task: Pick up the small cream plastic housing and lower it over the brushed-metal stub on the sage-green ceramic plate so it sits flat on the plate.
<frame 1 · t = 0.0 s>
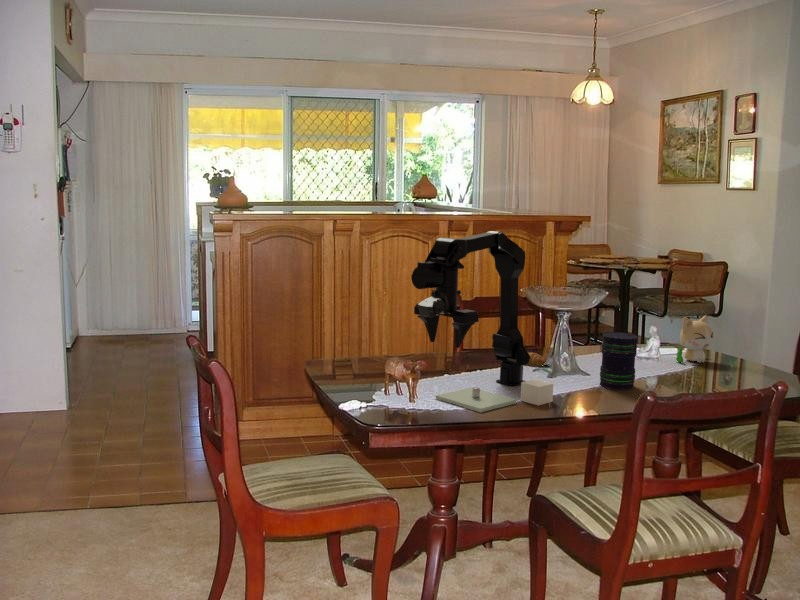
hand: (444, 344, 222), 15 cm above the table, fingers open, 9 cm apart
stub plate: (475, 401, 223), on the table
storage jar: (616, 386, 243), on the table
kitten: (693, 361, 279), on the table
housing: (536, 401, 224), on the table
pastry: (532, 364, 269), on the table
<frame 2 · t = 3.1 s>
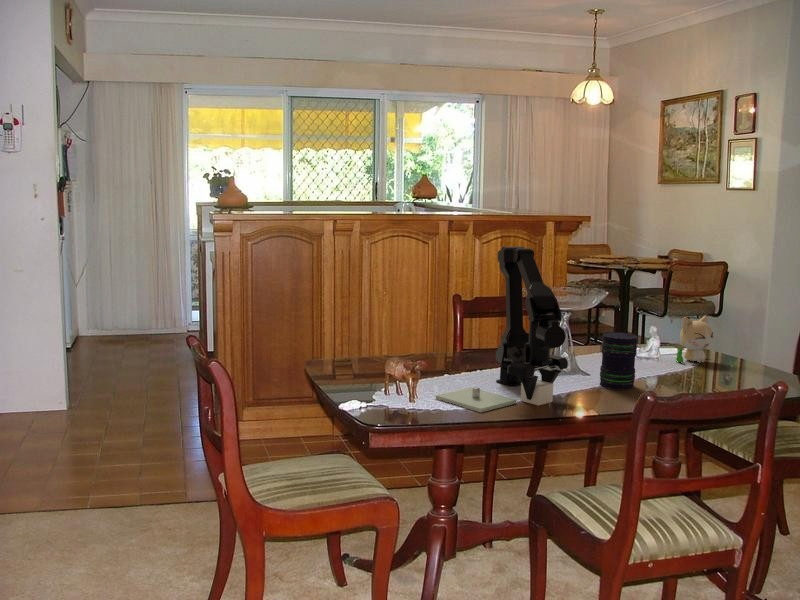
hand: (536, 397, 224), 1 cm above the table, fingers closed on housing, 6 cm apart
housing: (536, 401, 224), on the table, touching gripper
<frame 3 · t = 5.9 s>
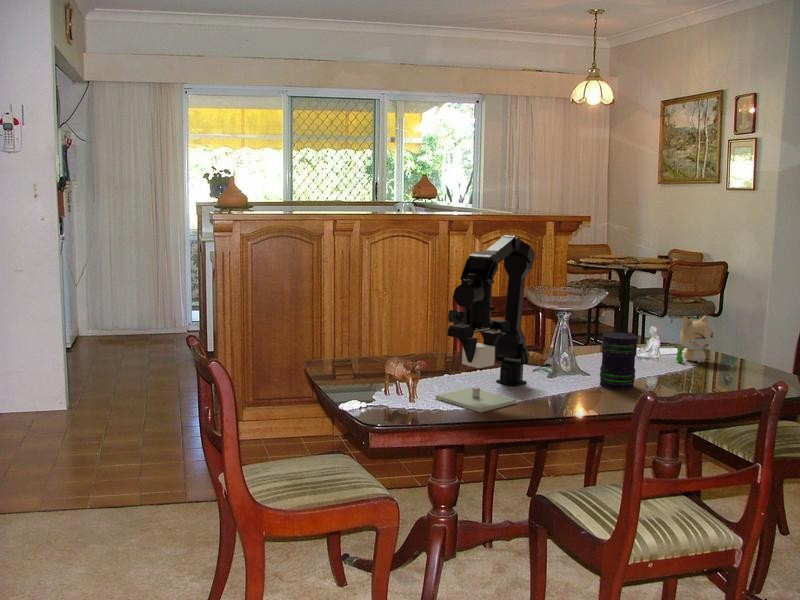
hand: (477, 360, 221), 11 cm above the table, fingers closed on housing, 6 cm apart
housing: (478, 364, 221), point 10 cm above the table, touching gripper
when the fingers open (3 cm above the table, at t = 8.6 s): housing stays where it is, resting on stub plate.
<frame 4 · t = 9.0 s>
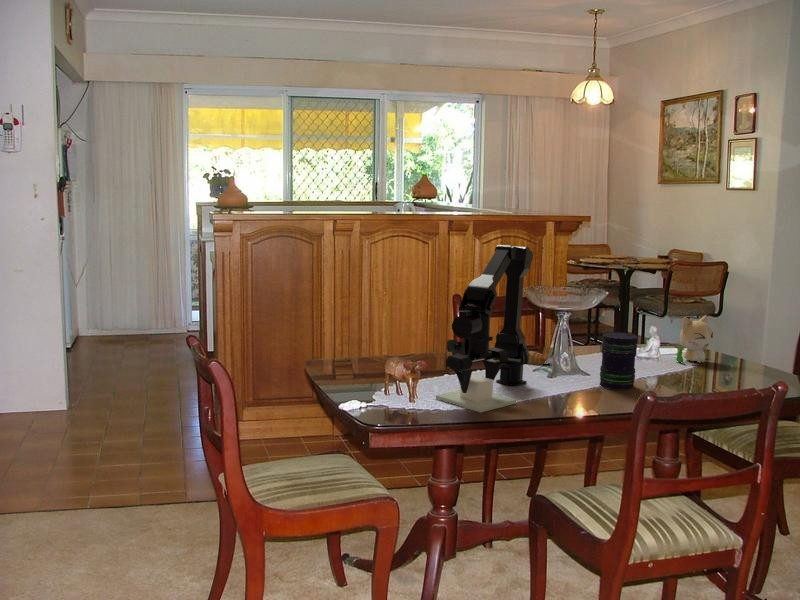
hand: (476, 390, 223), 3 cm above the table, fingers open, 9 cm apart
housing: (476, 397, 223), point 1 cm above the table, touching stub plate
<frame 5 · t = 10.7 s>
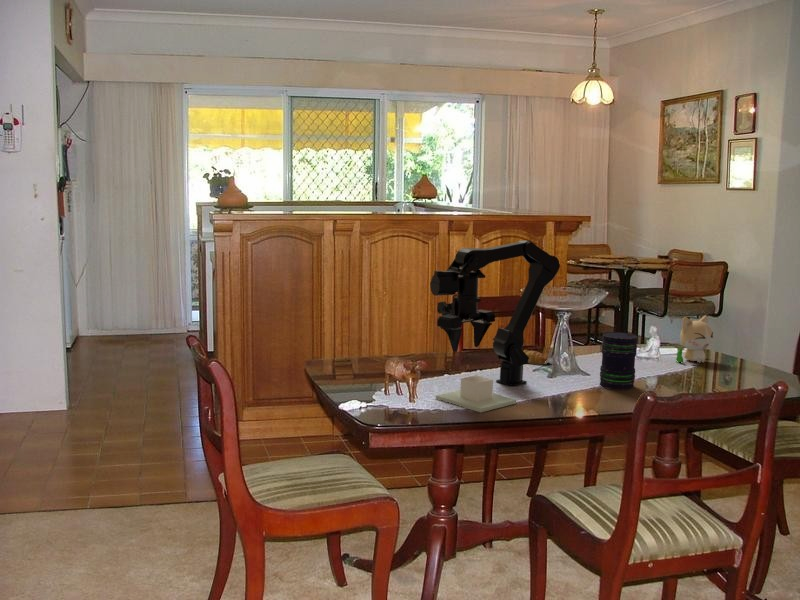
hand: (465, 349, 236), 11 cm above the table, fingers open, 9 cm apart
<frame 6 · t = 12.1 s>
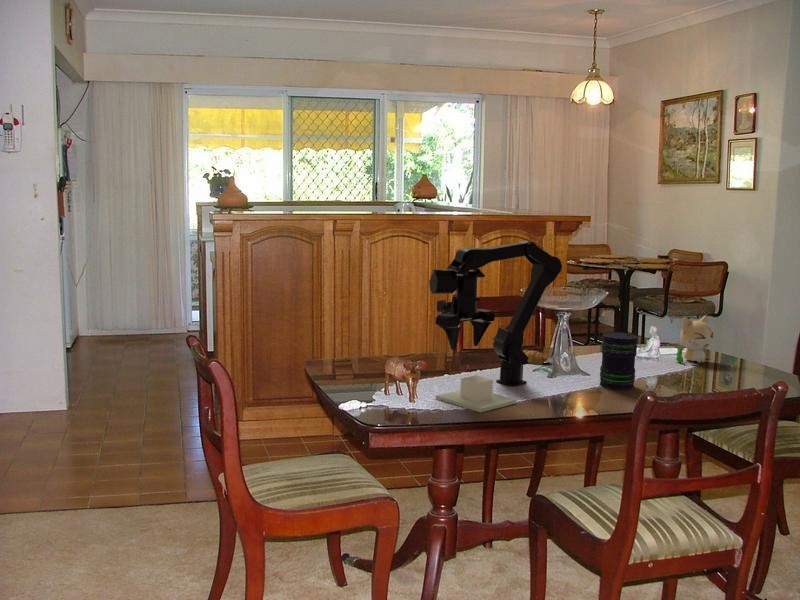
hand: (464, 347, 237), 11 cm above the table, fingers open, 9 cm apart
at the end: housing 0.1 cm off-centre on the stub plate, point 1.0 cm above the stub plate's base; housing tilted 0°; the gripper is holding nothing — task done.
